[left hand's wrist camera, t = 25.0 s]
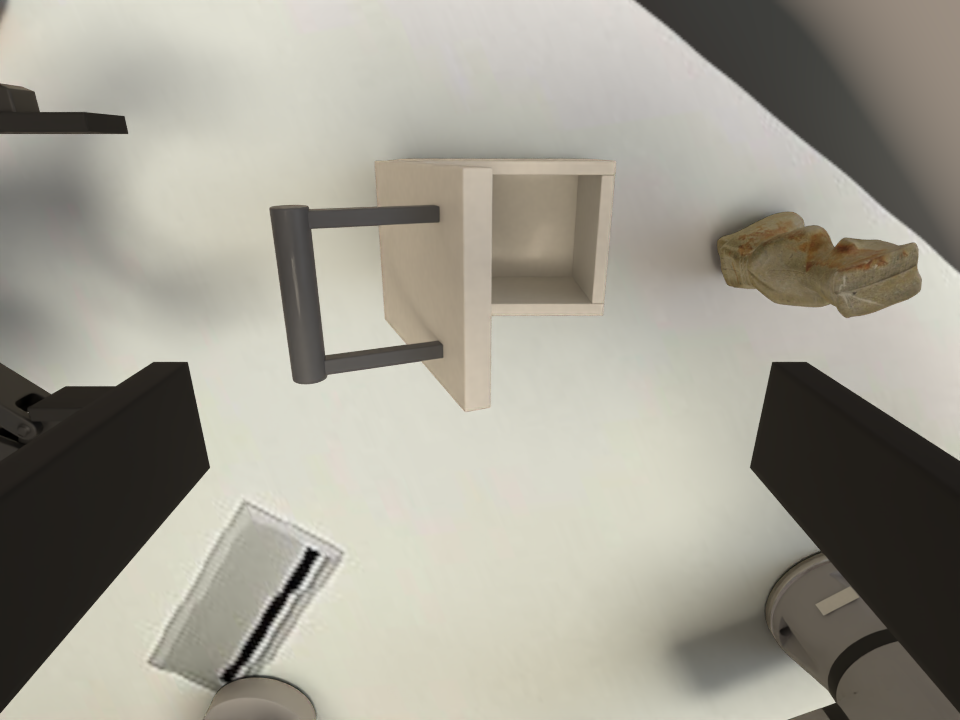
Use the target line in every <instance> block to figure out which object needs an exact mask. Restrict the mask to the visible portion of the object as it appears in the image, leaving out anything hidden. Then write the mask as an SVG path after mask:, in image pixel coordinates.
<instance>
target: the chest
mask: <svg viewBox="0 0 960 720" xmlns="http://www.w3.org/2000/svg"><path fill="white" fill-rule="evenodd" d="M388 161H405V162H420V163H436V164H451V165H467V166H482V167H491V168H492V170H493V173H492V290H491V316H603V310H604V298H605V286H606V275H607V263H608V252H609V240H610V229H611V217H612V206H613V194H614V183H615V171H616V161H612V160H598V159H398V160H388Z"/></svg>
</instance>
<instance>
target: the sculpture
mask: <svg viewBox="0 0 960 720" xmlns="http://www.w3.org/2000/svg"><path fill="white" fill-rule="evenodd" d="M717 250H718V254H719V255H720V260H721V270H722V273H723V276H724V279H725V281H726V283H727V285H729V286H733V287H736V288H746V289H757V290H758V291H760V292H761V293H762V294H763V295H765V296H766V297H767V298H768V299H770V300H771V301H773V302H774V303H778V304H783V305H792V306H804V307H823V306H826V305H829V304H832V305H834V306H836V307H837V309H838V311H839V312H840V313H841V314H842V315H843V316H844V317H846V318H849V317H853V316H861V315H866V314H870V313H873V312H876V311H879V310H881V309H883V308H886V307H888V306H891V305H893V304H896V303H899V302H902V301H905V300H908V299H909V298H911V297H913V296H915V295H916V294H917V293H919V292H920V290H921V283H922V279H921V276H920V274H919V272H918V269H917V263H918V247H917V244H916V243H909V244H905V245H900V246H898V245H895V244H892V243H889V242H884V241H881V240H861V239H852V238H843V239H842V240H840V241H839V243H838V244H837V245H836V246H835V247H834V246H833V244H832V242H831V239H830V236H829V235H828V233H827V231H826V230H825V229H824V228H822V227H820V226H815V225H813V226H806V227H804V221H803V219H802V218H801V217H800V216H799V215H798V214H796V213H794V212H781V213H777V214H774V215H771V216H768V217H766V218H764V219H762V220H760V221H758V222H755V223H753V224H751V225H750V226H748V227H746V228H744V229H742V230H740V231H738V232H736V233H733V234H731V235H726V236H723V237H721V238H720V239H719V240H718V241H717Z"/></svg>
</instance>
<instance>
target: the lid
mask: <svg viewBox="0 0 960 720" xmlns="http://www.w3.org/2000/svg"><path fill="white" fill-rule="evenodd" d="M492 173H493V170H492V168H491V167H482V166H467V165H451V164H436V163H420V162H405V161H375V177H376V192H377V207H357V208H330V209H309V207H308V206H305V205H282V206H273V207H270V216H271V223H272V230H273V238H274V245H275V252H276V260H277V267H278V274H279V282H280V289H281V296H282V304H283V311H284V318H285V326H286V333H287V340H288V348H289V355H290V362H291V370H292V377H293V381H294V382H296V383H299V384H313V383H318V382H321V381H323V380H324V379H326V378H327V375H329V374H336V373H343V372H350V371H357V370H364V369H371V368H377V367H384V366H391V365H398V364H405V363H412V362H419V361H421V362H422V363H423V364H424V365H425V366H426V367H427V369H428V370H429V371H430V372H431V373H432V374H433V375H434V377H435V378H436V379H437V380H438V381H439V382H440V384H441V385H442V386H443V387H444V388H445V389H446V391H447V392H448V393H449V394H450V395H451V396H452V398H453V399H454V400H455V401H456V402H457V403H458V404H459V406H460V407H461V408H462V409H463V410H464V411H465V412H469V411H474V410H480V409H485V408H490V406H491V290H492ZM378 225H379V237H380V252H381V267H382V282H383V298H384V313H385V320H386V321H387V322H388V323H389V324H390V326H391V327H392V328H393V329H394V330H395V331H396V333H397V334H398V335H399V336H400V337H401V338H402V340H403V341H404V342H405V343H406V344H407V345H401V346H393V347H385V348H378V349H370V350H363V351H355V352H348V353H340V354H332V355H325V350H324V341H323V332H322V323H321V314H320V305H319V296H318V287H317V278H316V269H315V260H314V251H313V242H312V233H311V229H317V228H337V227H357V226H378Z"/></svg>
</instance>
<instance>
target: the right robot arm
mask: <svg viewBox="0 0 960 720" xmlns="http://www.w3.org/2000/svg"><path fill="white" fill-rule="evenodd" d="M0 134H128V130H127V126H126V121H125V116H117V115H107V114H97V113H87V112H40V111H39V107H38V103H37V100H36V96H35V92H34V91H31V90H29V89H26V88H24V87H21V86H14V85H7V84H0ZM114 387H116V386H65V387H64V388H62V389H60V390H58V391H57V392H55V393H53V394H50V393H48V392H46V391H45V390H43V389H42V388H40V387H38V386H37V385H35V384H34V383H32V382H30V381H29V380H27V379H25V378H24V377H22V376H21V375H19V374H17V373H16V372H14V371H13V370H11V369H9V368H8V367H6V366H4V365H3V364H1V363H0V461H1V460H3V459H4V458H6V457H7V456H9V455H10V454H12V453H14V452H15V451H17V450H18V449H20V448H21V447H23V446H24V445H26V444H27V443H29V442H31V441H32V440H34V439H35V438H37V437H38V436H40V435H41V434H43V433H44V432H46V431H48V430H49V429H51V428H52V427H54V426H55V425H57V424H58V423H60V422H62V421H63V420H65V419H66V418H68V417H69V416H71V415H72V414H74V413H75V412H77V411H79V410H80V409H82V408H83V407H85V406H86V405H88V404H89V403H91V402H92V401H94V400H96V399H97V398H99V397H100V396H102V395H103V394H105V393H106V392H108V391H110V390H111V389H113V388H114ZM27 412H29V413H27Z"/></svg>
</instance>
